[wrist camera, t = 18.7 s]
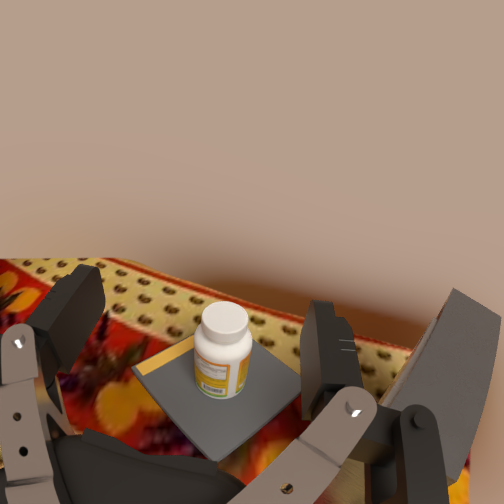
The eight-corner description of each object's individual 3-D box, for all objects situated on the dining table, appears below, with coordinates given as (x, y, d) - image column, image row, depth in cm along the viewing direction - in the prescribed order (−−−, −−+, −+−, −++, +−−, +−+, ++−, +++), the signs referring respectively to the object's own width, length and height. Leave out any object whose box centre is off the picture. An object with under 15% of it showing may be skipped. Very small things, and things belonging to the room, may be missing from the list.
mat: (132, 372, 32) (131, 366, 31) (224, 321, 41) (224, 315, 40) (214, 465, 24) (214, 461, 23) (307, 387, 33) (309, 382, 32)
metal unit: (295, 496, 22) (367, 426, 13) (386, 387, 33) (449, 285, 25) (351, 534, 18) (464, 485, 9) (429, 414, 29) (505, 320, 21)
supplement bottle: (232, 355, 35) (240, 290, 30) (253, 391, 31) (268, 329, 26) (187, 367, 32) (185, 302, 27) (205, 407, 28) (206, 346, 23)
